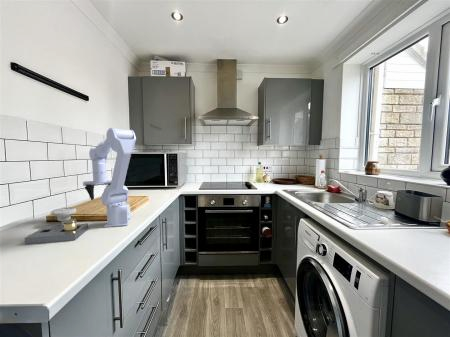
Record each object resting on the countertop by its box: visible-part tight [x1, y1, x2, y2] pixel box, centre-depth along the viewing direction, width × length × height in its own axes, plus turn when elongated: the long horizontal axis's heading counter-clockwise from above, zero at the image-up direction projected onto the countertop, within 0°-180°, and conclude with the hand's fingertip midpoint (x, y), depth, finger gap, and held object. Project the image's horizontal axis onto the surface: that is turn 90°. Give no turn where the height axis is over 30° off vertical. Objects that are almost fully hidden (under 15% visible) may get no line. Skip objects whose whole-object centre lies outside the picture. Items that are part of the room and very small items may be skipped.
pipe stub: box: [63, 218, 78, 232], centre depth 82 cm, size 4×4×6 cm
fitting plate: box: [24, 222, 90, 246], centre depth 82 cm, size 16×12×3 cm
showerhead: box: [50, 206, 77, 225], centre depth 96 cm, size 9×7×10 cm
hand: (100, 199), depth 104 cm, fingers open, 7 cm apart
